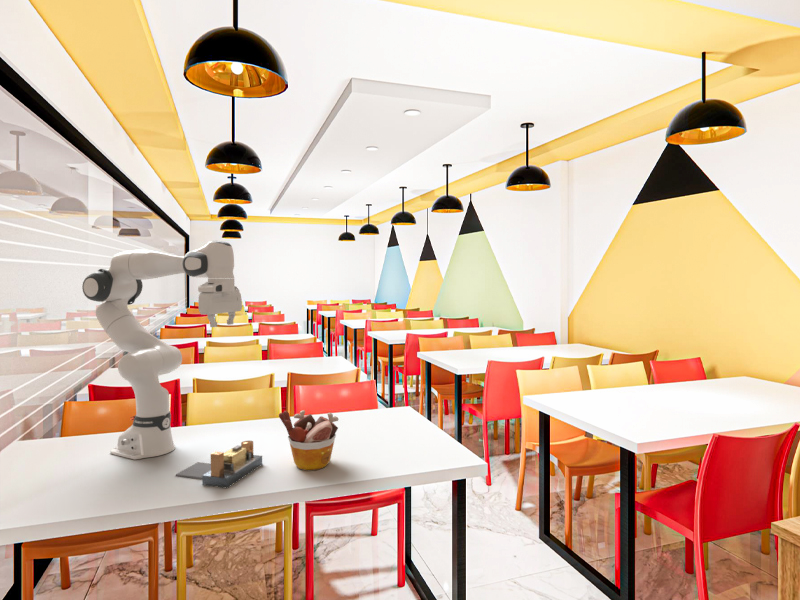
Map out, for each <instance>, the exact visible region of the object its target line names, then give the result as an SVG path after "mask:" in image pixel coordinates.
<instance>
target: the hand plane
mask: <svg viewBox="0 0 800 600" xmlns="http://www.w3.org/2000/svg"><path fill="white" fill-rule="evenodd" d="M240 446H242V448H246V456H247V460H245V461H244V462H242V463H241V464H239V465H237V466H236V467H234V463H228V462H224V453H225V452H224V451H213V452H211V453H210V464H211V471H209V472H207V473H205V474H204V475H202V479H201V481H202V483H201V485H202V486H208V487H209V486H210V487H215V486H218V487H217V488H223V487H226V488H225V489H228V488H230V487H231V486H232V484H233V483H234V484H236V483H237V482H238V481H240V480H241V479H243V478H244V477H246V476H247V475H249V474H250V473H252V472H253V471H255V470H257V467H258V468H260V467H261V466H262V465H263V455H258V454H254V441H253V440H244V441H241V443H240ZM260 465H261V466H260ZM254 469H255V470H254ZM251 471H252V472H251ZM248 473H249V474H248ZM245 475H246V476H245ZM242 477H243V478H242ZM239 479H240V480H239ZM236 481H237V482H236ZM234 484H233V485H234ZM230 485H231V486H230ZM229 486H230V487H229ZM227 487H228V488H227Z"/></svg>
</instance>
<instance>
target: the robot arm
mask: <svg viewBox="0 0 800 600" xmlns="http://www.w3.org/2000/svg"><path fill="white" fill-rule="evenodd" d="M234 268H235V256H234V249H233V247H232V245H231V244H230V243H229V242H226V241H219V240H210V241H208V242H207V244H205V245H204V246H201V247H199V248H198V249H194V250H190V251H187V253H185V254H184V256H179V255H174V254H173V255H172V254H169V253H165V252H160V251H156V250H148V249H133V250H125V251H122V252H118V253H116V254H114V255H113V257H112V258H111V260H110V266H109V268H107V269H106V268H100V269H98V270H97V271H94V272H92V273H91V274H89V275H87V276H86V277H85V278H84V280H83V281H82V292H83V295H84V296H85V297H86V298H87V299H88V300H90V301H94V302H99V303H100V302H101V303H100V304H99V305H97V306H96V309H95V316H96V318H97V320H98V322H99V324H100V326H101V327H102V329H103V330H104V331H105V333H106V334H107V335H108V337H109V338H110V339H111V340H112V342H113V343H114V344H115V345H116V347H117V348H118V349H120V350H121V351H124V352H127V353H126V354H124V355H123V356H122V357H120V359H119V360H118V363H117V369H118V370H117V371H118V373H119V375H120V377H121V378H122V379H123V380H125V381H127V382H128V383H129V384H130V386H131V388H132V390H133V392H134V397H135V398H134V399H135V410H136V414H135V415H134V416H131V417H130V421H132V425H131V426H128V428H127V429H126V430H124V431H123V432H122V433H121V434H119V436H118V439H117V446H115V447H113V448H111V450H110V455H115V456H117V457H118V456H119V457H123V458H127V459H131V460H140V459H145V458H146V459H147V458H152V457H158V456H162V455H166V454H169V453H170V452H173V451H174V450H175V449H176V446H175V444H174V439H173V434H172V427H171V423H172V414H171V411H170V393H169V391H168V389H167V388H165V387H163V386H162V385H161V384H160V383H161V382H160V380H159V377H160V376H163V375H167V374H170V373H172V372H173V371H176V370H177V369H179V368H180V366H181V365H182V362H183V355H182V352H181V350H180V349H179V348H178V347H177V346H174V345H170V344H168V343H166V342H164V341H162V340H161V339H160V338H158V337H156V336H155V335H153V334H151V332H150V331H148V330H147V329H146V328H145V327H144V326H143V325H142V323H140V321H139V320H138V319H137V318H136V316H135V315H134V314H133V313H132V312H131V311H130V310H129V308H128V307H129V306H128V305H132V304H134V303H135V302H136V300H137V298H139V296H140V295H141V293H142V291H143V282H142V280H152V279H158V278H163V277H167V276H173V275H178V274H186V275H188V276H189V277H192V278H207V281H205V282H204V283H202V284H200V285H199V286H198V288H197V291H198V293H199V294H198V311H199V313H200V315H201V316H202V315H205V316H206V315H207V319H208V321H209V327H210V328H217V327H218V321H216V319H215V318H216V314H226V313H227V315H228V318H227V319H226V325H228V326H229V325H230V326H231V325H234V320H235V317H236V312H241V311H242V309H243V301H242V294H241V292H240V289H239V288H238V286H236V285H235V275H234Z"/></svg>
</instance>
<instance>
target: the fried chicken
mask: <svg viewBox="0 0 800 600" xmlns="http://www.w3.org/2000/svg"><path fill="white" fill-rule="evenodd" d="M305 413H306V411H305V409H304V410H300V412H299V413H295V414H294V415H293V418H294V419H298V420H296V421H295V422H294V424H292V420H291V419H292V418H291V416H290V413H289V412H288V410H284V411H283V412H280V413H279V414H278V417H279V419H280V421H281V422H282V424H283V425H284V427H285V428H286V431H287V434H288V436H287V439H288V442H289V445H290V450H291V455H292V458H293V463H294V464H295V466H296V467H297V468H298V469H299V470H302V469H303V471H308V470H309V471H318V470H320V469H321V470H322V469H324V468H325V467H326V466H327V465H328V464H329V463H330V462H331V458H332V453H333V449H334V444H335V439H336V436H337V434H336V433H337V431H338V429H339V427H338V426H337V425H336V424H335V423H334V422H339V417H338V416H337V415H336V416H334V415H333V413H332V412H328V413H327V417H328V418H327V417H324V416H322V415H321V416H319V417H318V418H317V419H315V418H314V417H313V415H312V414H311V413H309V414H306V415H305ZM293 426H294V427H293Z"/></svg>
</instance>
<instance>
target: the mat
mask: <svg viewBox="0 0 800 600" xmlns="http://www.w3.org/2000/svg"><path fill="white" fill-rule="evenodd" d="M209 471H211V462H209V463H207V462H198V461H197V462H196V463H194V464H192V465H190V466H188V467H186V468H185V469H183V470H181V471H178V472H177V473H175V477H180V478H187V479H188V478H189V479H196V480H202V475H204V474H205V473H207V472H209Z"/></svg>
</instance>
